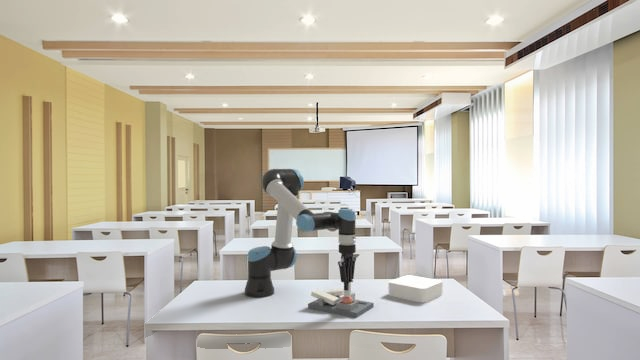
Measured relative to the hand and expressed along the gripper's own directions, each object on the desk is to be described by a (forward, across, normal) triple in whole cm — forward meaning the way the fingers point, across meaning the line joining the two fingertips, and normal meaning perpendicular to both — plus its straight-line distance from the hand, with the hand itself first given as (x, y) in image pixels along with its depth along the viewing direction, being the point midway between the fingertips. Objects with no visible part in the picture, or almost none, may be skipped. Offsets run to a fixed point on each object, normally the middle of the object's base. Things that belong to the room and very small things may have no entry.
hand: (347, 296), depth 188 cm
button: (+4, 0, 0) cm, 4 cm away
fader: (+4, +9, +3) cm, 10 cm away
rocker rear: (+2, +8, +12) cm, 14 cm away
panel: (+7, +4, +6) cm, 10 cm away
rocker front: (+2, 0, +12) cm, 12 cm away
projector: (+7, +43, -16) cm, 46 cm away
